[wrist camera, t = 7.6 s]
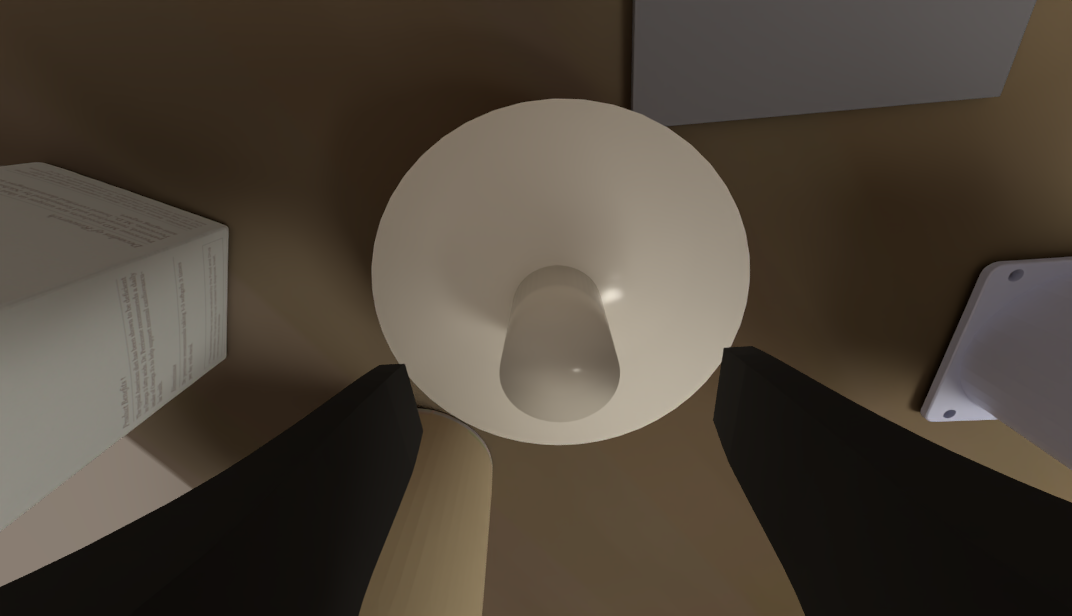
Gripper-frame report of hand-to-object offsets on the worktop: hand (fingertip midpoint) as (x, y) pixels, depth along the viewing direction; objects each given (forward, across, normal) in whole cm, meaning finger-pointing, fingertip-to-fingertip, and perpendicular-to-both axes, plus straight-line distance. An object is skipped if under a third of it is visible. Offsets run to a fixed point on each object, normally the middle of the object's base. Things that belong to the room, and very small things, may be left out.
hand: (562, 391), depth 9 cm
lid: (+4, 0, 0) cm, 4 cm away
